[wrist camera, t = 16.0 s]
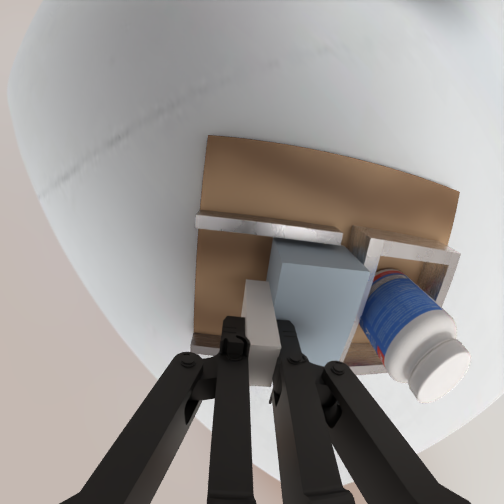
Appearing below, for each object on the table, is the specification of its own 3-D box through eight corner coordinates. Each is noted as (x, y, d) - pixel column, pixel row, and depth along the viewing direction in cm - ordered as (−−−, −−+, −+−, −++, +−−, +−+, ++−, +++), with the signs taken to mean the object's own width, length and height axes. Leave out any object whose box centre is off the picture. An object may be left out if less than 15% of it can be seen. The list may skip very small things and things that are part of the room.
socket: (352, 225, 18) (370, 238, 15) (438, 241, 18) (460, 253, 15) (316, 352, 21) (325, 376, 18) (397, 349, 22) (410, 369, 19)
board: (210, 136, 17) (208, 135, 15) (451, 189, 18) (459, 191, 17) (195, 338, 22) (193, 347, 21) (399, 346, 23) (404, 353, 22)
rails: (199, 209, 17) (195, 215, 16) (335, 226, 18) (343, 233, 16) (193, 340, 20) (190, 352, 19) (303, 349, 21) (307, 361, 20)
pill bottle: (337, 311, 20) (387, 406, 11) (379, 254, 18) (460, 328, 9) (381, 333, 21) (432, 414, 12) (419, 285, 20) (489, 353, 10)
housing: (273, 236, 18) (282, 262, 13) (343, 245, 18) (370, 271, 14) (256, 335, 20) (259, 376, 16) (317, 339, 21) (331, 377, 16)
